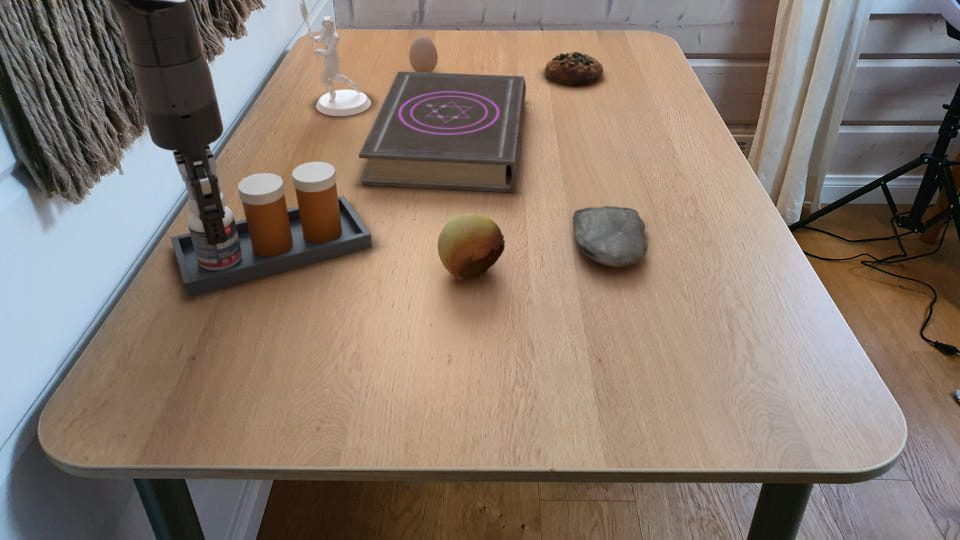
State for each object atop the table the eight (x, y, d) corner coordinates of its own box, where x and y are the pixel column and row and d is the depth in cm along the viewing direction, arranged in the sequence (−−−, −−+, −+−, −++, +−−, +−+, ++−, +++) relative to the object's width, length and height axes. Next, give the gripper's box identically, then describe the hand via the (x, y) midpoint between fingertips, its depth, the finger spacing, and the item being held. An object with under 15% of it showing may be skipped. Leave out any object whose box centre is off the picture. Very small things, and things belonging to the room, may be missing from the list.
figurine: (308, 98, 130) (293, -6, 119) (359, 88, 134) (349, -14, 123) (325, 120, 123) (310, 11, 112) (378, 109, 127) (369, 3, 116)
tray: (188, 297, 85) (184, 283, 84) (174, 250, 93) (170, 237, 92) (372, 247, 94) (370, 234, 93) (345, 207, 101) (343, 195, 100)
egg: (429, 81, 136) (428, 42, 132) (404, 76, 138) (402, 38, 134) (443, 71, 140) (442, 33, 136) (418, 67, 142) (417, 29, 138)
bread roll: (565, 90, 133) (566, 62, 130) (532, 77, 141) (532, 50, 139) (614, 81, 137) (616, 53, 135) (580, 69, 146) (581, 43, 144)
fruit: (513, 263, 91) (515, 208, 86) (483, 302, 85) (484, 245, 80) (458, 248, 94) (457, 194, 89) (426, 284, 88) (423, 228, 83)
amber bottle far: (308, 248, 93) (298, 186, 87) (297, 227, 96) (286, 167, 91) (348, 237, 95) (340, 176, 89) (335, 218, 98) (327, 157, 93)
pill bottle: (226, 275, 88) (210, 213, 83) (189, 267, 89) (171, 204, 84) (251, 251, 92) (237, 190, 87) (215, 243, 93) (199, 182, 88)
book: (399, 98, 130) (397, 70, 127) (525, 103, 129) (526, 76, 126) (362, 185, 106) (358, 154, 103) (516, 192, 105) (517, 161, 102)
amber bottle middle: (257, 261, 90) (243, 198, 85) (247, 240, 94) (233, 178, 89) (298, 250, 92) (287, 188, 87) (287, 230, 96) (276, 169, 90)
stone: (571, 218, 100) (573, 197, 98) (641, 220, 99) (644, 199, 97) (574, 276, 89) (576, 254, 87) (652, 279, 88) (656, 257, 86)
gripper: (132, 79, 82) (170, 208, 92) (150, 130, 71) (190, 270, 81) (202, 67, 84) (231, 195, 94) (228, 115, 74) (258, 252, 84)
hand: (212, 229), depth 88 cm, fingers closed on pill bottle, 5 cm apart
